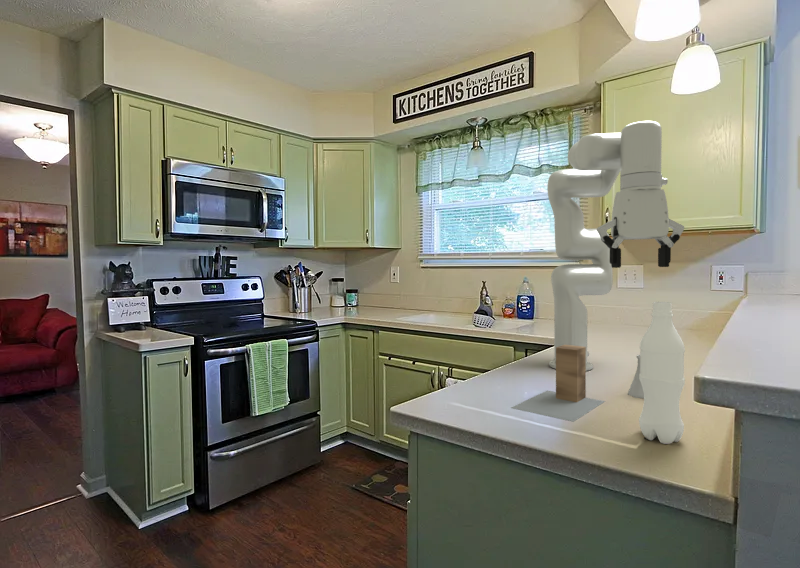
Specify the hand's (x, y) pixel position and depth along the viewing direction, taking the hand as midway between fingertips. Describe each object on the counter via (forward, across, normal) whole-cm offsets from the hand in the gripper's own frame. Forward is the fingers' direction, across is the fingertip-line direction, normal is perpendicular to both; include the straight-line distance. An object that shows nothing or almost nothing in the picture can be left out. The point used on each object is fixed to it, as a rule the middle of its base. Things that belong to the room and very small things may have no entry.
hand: (639, 267), depth 97 cm
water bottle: (+31, +2, +13) cm, 34 cm away
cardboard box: (+31, +11, -10) cm, 34 cm away
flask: (+32, -7, -13) cm, 35 cm away
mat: (+31, +15, -5) cm, 35 cm away
